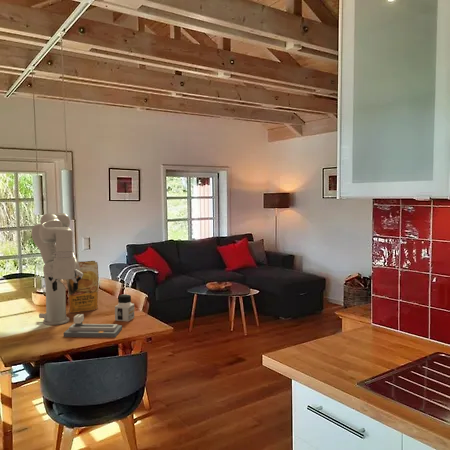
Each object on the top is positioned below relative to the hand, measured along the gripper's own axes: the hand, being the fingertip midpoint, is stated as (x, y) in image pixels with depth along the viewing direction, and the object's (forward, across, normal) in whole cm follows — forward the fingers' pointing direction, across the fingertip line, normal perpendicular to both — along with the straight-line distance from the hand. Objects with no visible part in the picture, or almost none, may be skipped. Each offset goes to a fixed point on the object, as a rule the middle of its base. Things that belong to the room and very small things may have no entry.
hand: (65, 290), depth 199 cm
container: (+21, +23, +22) cm, 38 cm away
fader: (+18, +6, 0) cm, 19 cm away
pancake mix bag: (+21, -5, +39) cm, 44 cm away
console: (+20, +13, 0) cm, 24 cm away
